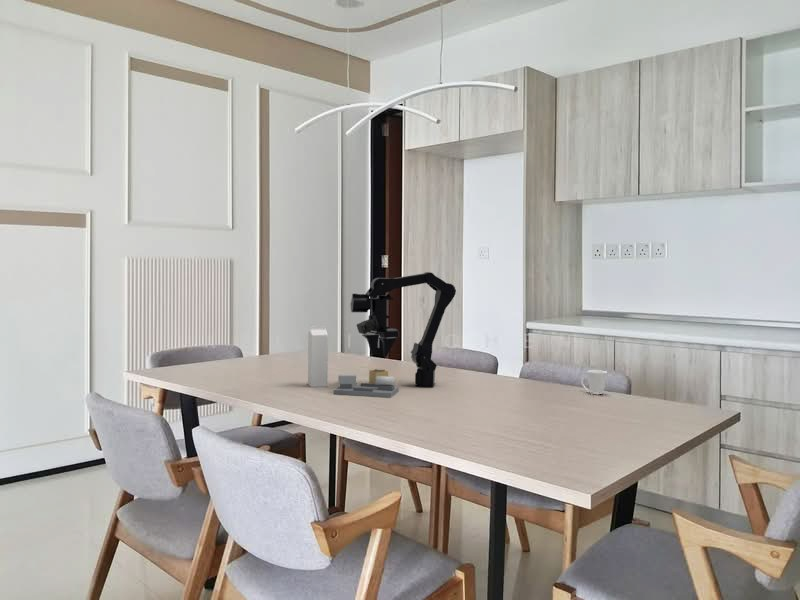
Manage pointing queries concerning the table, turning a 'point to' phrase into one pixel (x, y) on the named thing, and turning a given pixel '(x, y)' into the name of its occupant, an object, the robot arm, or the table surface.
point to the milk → (317, 356)
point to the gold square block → (376, 374)
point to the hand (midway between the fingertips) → (379, 355)
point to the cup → (595, 380)
